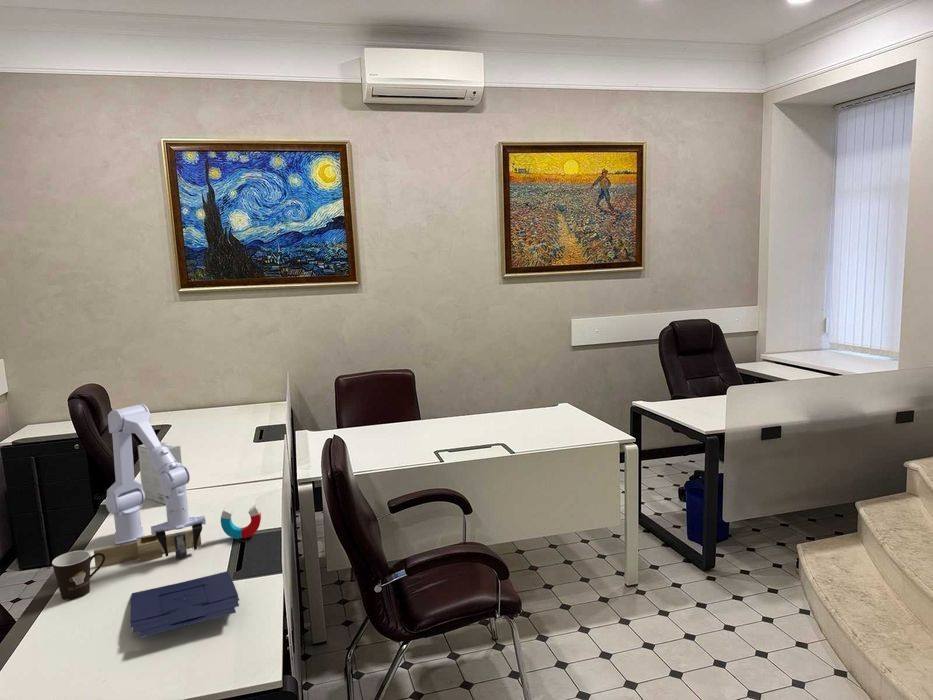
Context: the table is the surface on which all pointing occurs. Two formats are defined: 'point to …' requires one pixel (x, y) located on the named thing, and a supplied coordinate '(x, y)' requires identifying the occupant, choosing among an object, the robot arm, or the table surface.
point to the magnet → (236, 531)
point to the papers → (182, 604)
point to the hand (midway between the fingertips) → (181, 551)
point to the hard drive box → (154, 472)
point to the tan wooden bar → (140, 549)
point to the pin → (180, 545)
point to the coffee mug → (74, 573)
